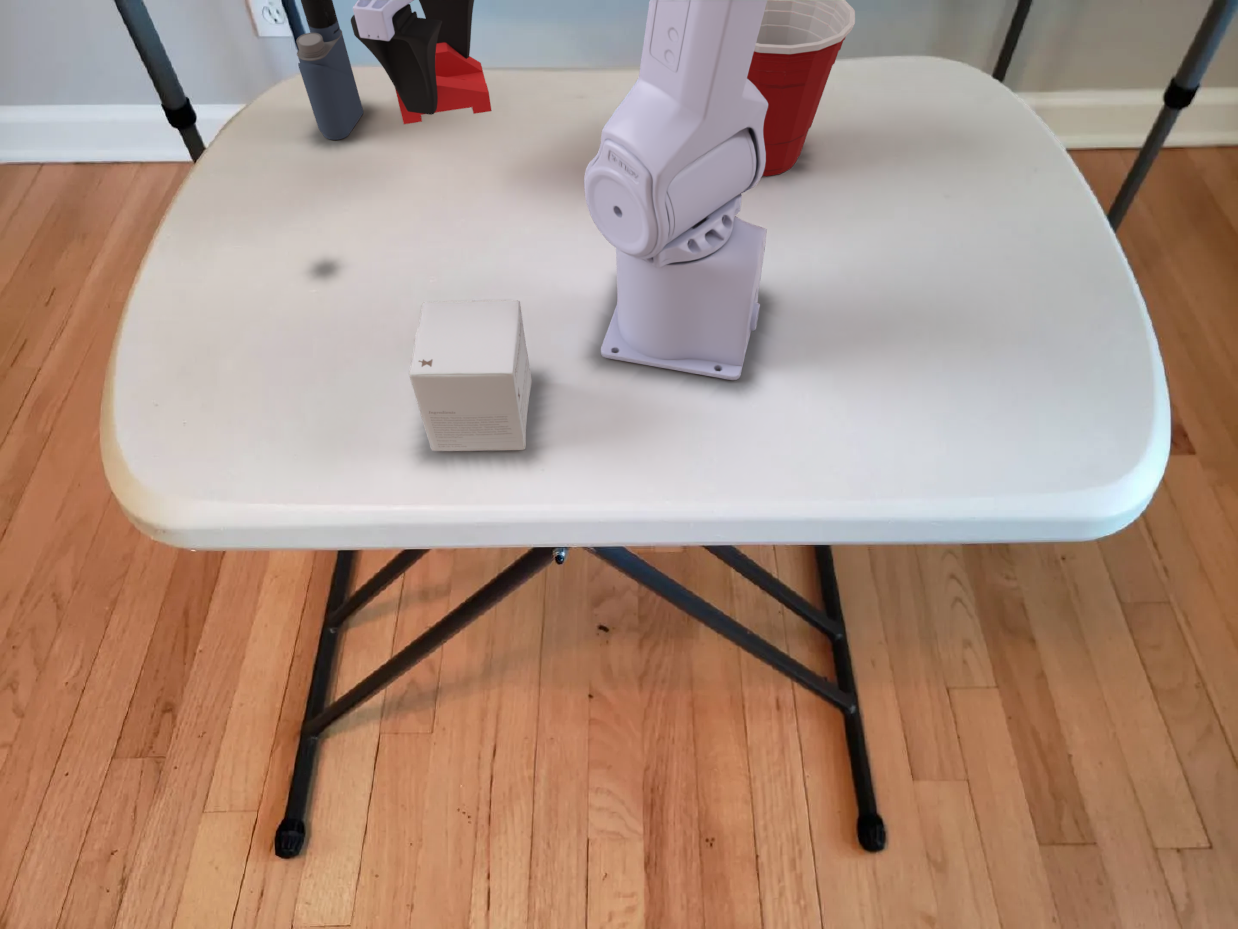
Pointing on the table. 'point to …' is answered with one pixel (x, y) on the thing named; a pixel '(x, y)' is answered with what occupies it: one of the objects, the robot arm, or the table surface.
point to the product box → (472, 375)
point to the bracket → (455, 84)
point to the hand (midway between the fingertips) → (438, 84)
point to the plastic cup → (795, 70)
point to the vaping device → (328, 71)
